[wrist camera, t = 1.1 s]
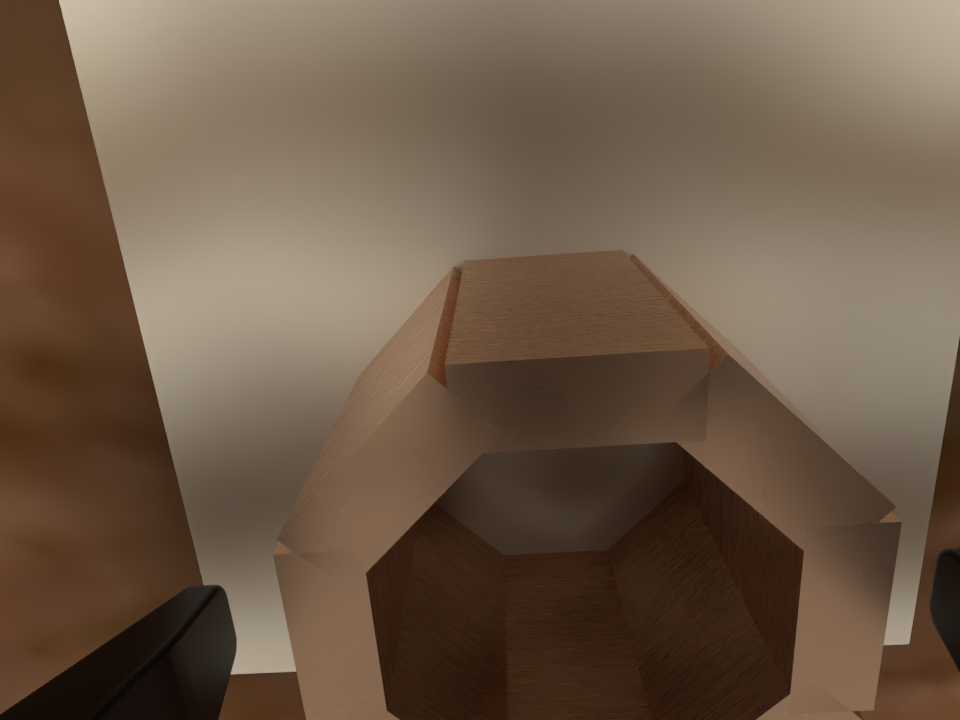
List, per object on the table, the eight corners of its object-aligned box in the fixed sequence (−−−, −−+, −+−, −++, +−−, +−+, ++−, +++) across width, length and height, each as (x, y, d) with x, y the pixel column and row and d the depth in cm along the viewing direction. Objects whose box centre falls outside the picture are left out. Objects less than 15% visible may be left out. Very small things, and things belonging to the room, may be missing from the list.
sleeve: (731, 586, 14) (855, 835, 9) (387, 603, 14) (333, 853, 9) (751, 241, 11) (930, 334, 7) (339, 269, 12) (237, 377, 7)
